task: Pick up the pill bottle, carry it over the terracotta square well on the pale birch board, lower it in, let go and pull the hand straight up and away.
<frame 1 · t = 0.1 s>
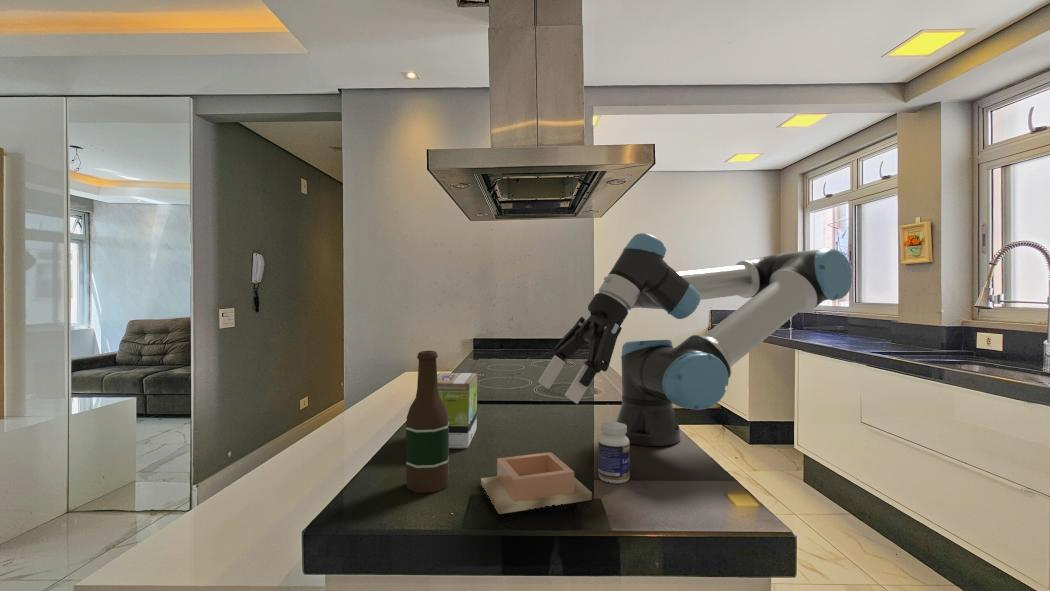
hand: (555, 392, 92), 15 cm above the countertop, tool tilted 35°, fingers open, 13 cm apart
board: (534, 492, 82), on the countertop
beer bottle: (428, 486, 85), on the countertop
pill bottle: (613, 479, 88), on the countertop
tea box: (453, 439, 113), on the countertop
well: (534, 475, 82), on the board, point 3 cm above the countertop
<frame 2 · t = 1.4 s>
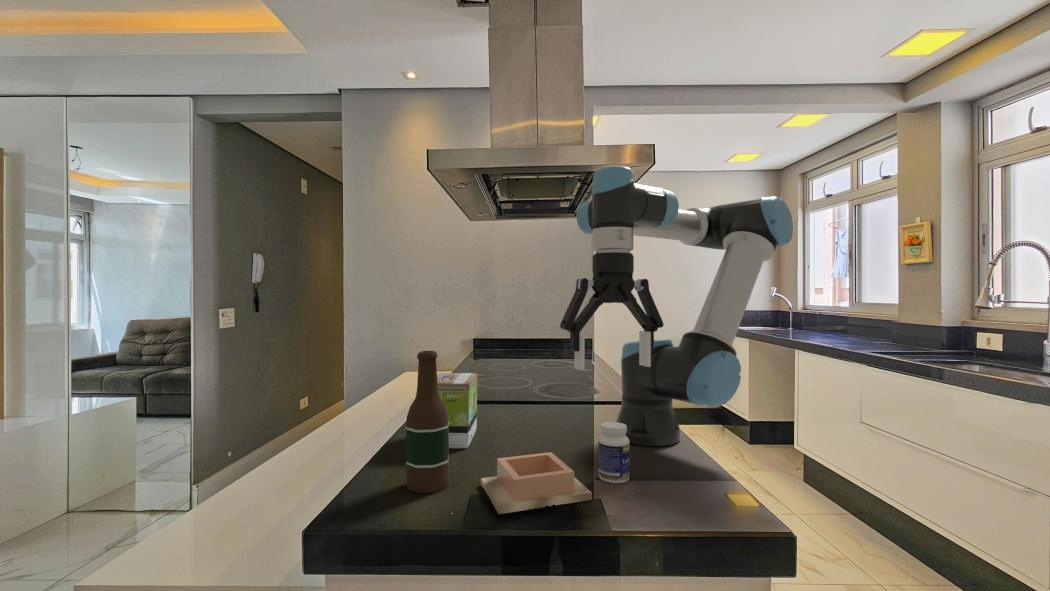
hand: (612, 367, 88), 20 cm above the countertop, tool pointing down, fingers open, 13 cm apart
nothing on the countertop moved.
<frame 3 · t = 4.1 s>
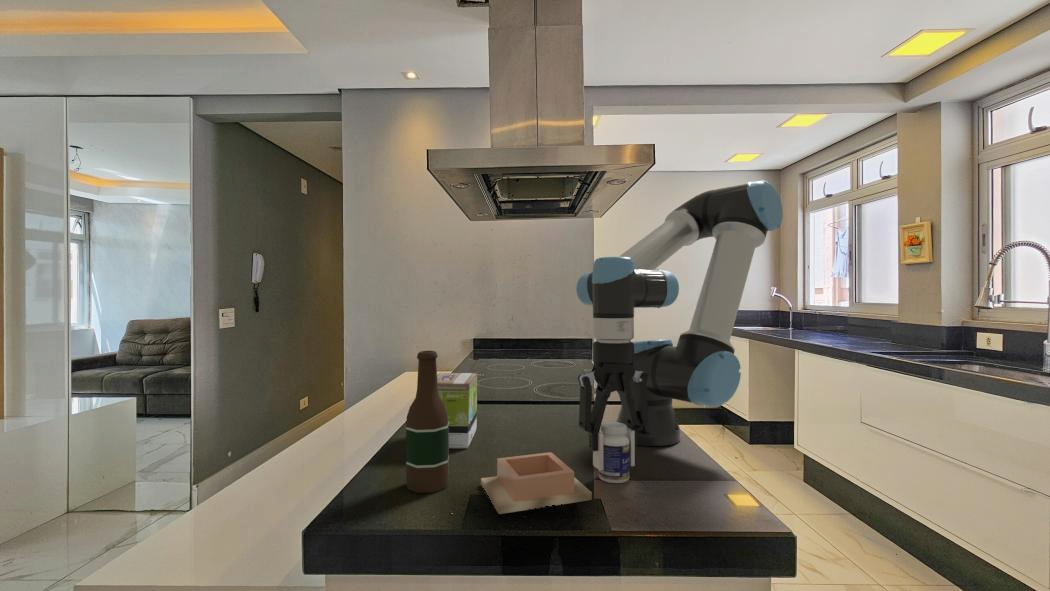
hand: (613, 465, 88), 2 cm above the countertop, tool pointing down, fingers closed on pill bottle, 6 cm apart
pill bottle: (613, 479, 88), on the countertop, touching gripper
everything else where it was.
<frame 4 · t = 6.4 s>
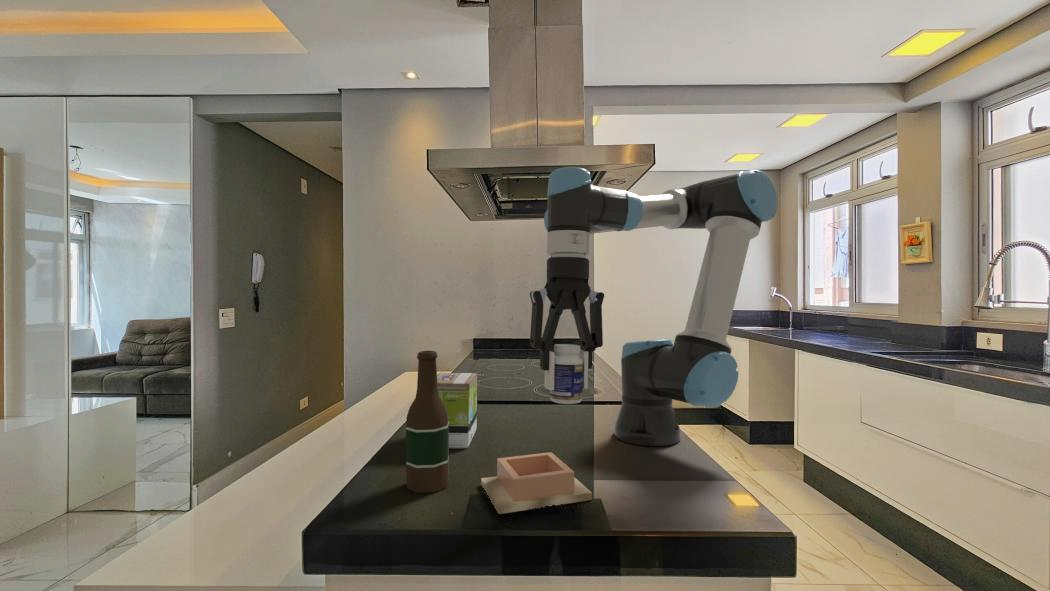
hand: (566, 387, 84), 18 cm above the countertop, tool pointing down, fingers closed on pill bottle, 6 cm apart
pill bottle: (566, 402, 84), point 15 cm above the countertop, touching gripper
everything else where it was.
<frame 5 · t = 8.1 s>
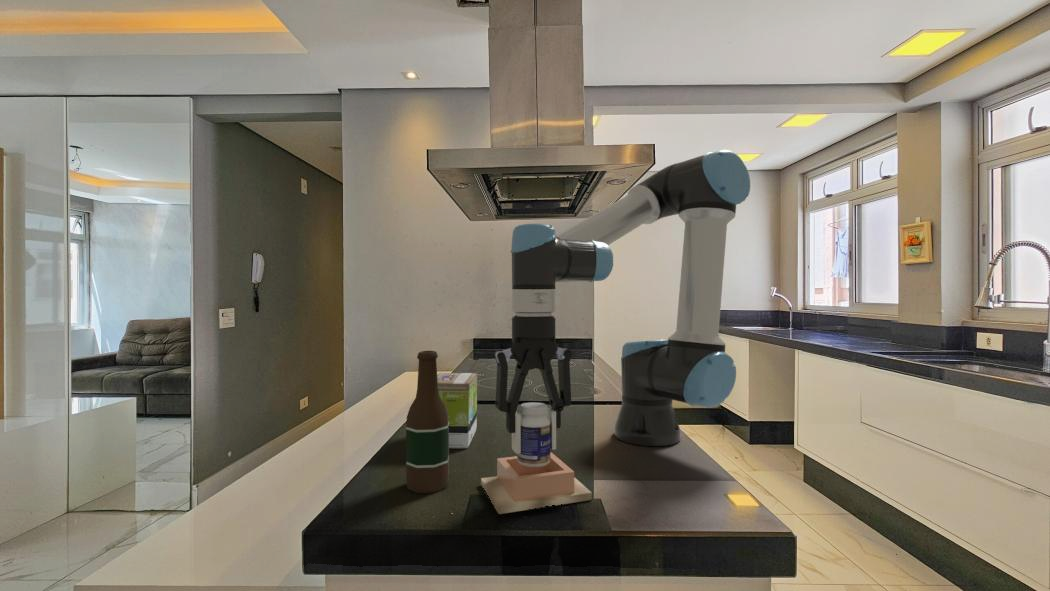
hand: (533, 448, 82), 7 cm above the countertop, tool pointing down, fingers closed on pill bottle, 6 cm apart
pill bottle: (534, 463, 82), point 5 cm above the countertop, touching gripper
everything else where it was.
when the fingers open (6 cm above the countertop, at t = 9.1 s): pill bottle drops 2 cm, resting on board.
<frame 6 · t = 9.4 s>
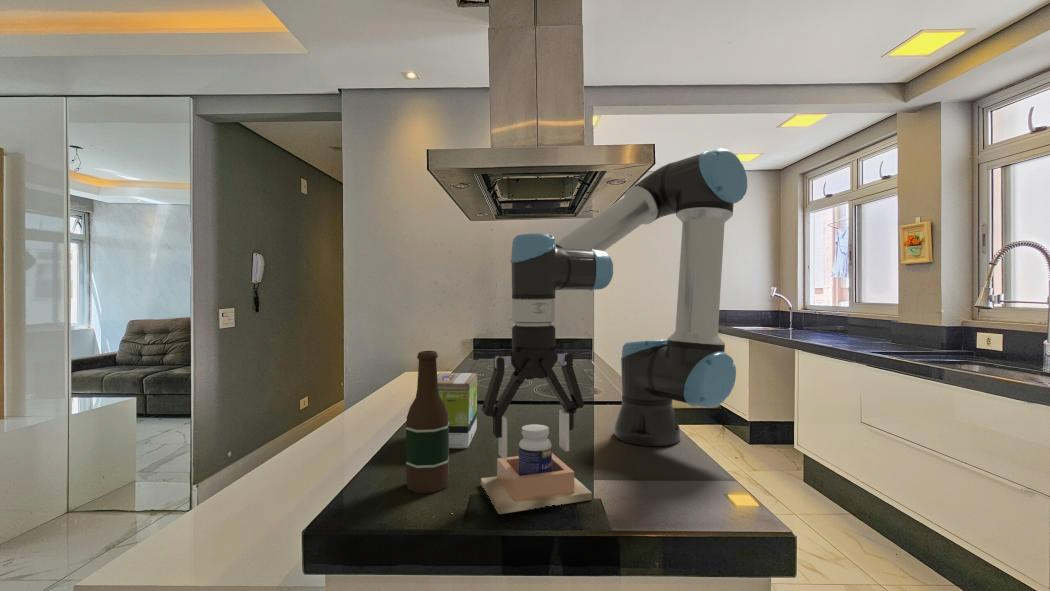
hand: (534, 452, 82), 7 cm above the countertop, tool pointing down, fingers open, 10 cm apart
pill bottle: (535, 486, 82), point 1 cm above the countertop, touching board
everything else where it was.
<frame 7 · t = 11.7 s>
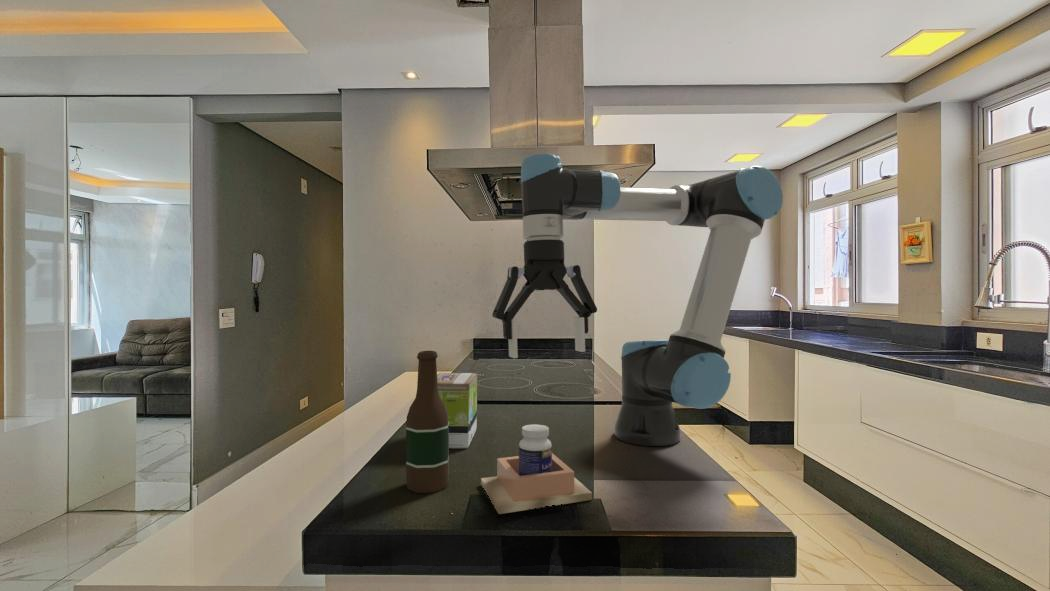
hand: (547, 354, 89), 23 cm above the countertop, tool pointing down, fingers open, 13 cm apart
nothing on the countertop moved.
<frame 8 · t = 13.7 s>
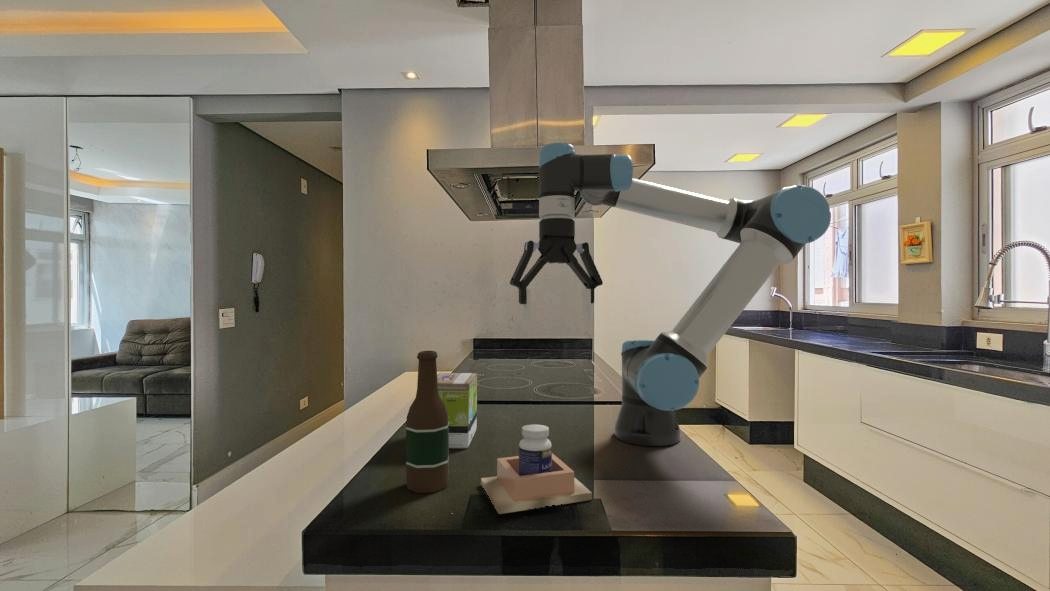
hand: (557, 319, 101), 29 cm above the countertop, tool pointing down, fingers open, 13 cm apart
nothing on the countertop moved.
at the end: pill bottle 0.2 cm off-centre on the well, point 1.0 cm above the well's base; pill bottle tilted 0°; the gripper is holding nothing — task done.
